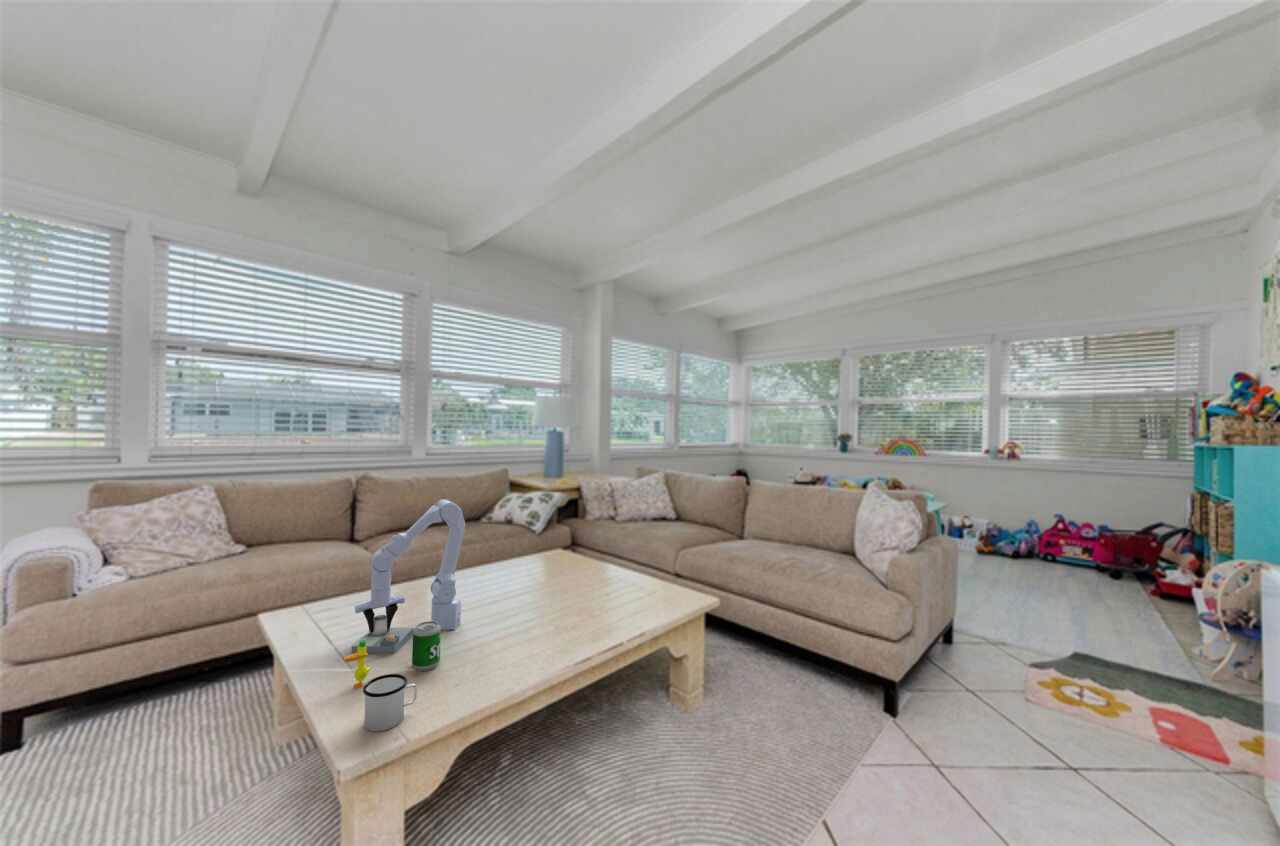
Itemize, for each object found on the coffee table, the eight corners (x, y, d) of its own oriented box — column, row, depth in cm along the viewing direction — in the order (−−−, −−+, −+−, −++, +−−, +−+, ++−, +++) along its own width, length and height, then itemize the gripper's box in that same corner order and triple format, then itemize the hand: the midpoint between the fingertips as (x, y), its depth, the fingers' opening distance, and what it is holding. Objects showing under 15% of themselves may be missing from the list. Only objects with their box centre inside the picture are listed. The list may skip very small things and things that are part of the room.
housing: (413, 634, 163) (413, 622, 163) (395, 654, 149) (395, 641, 149) (373, 634, 162) (373, 622, 162) (351, 654, 148) (351, 641, 148)
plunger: (396, 641, 152) (396, 634, 152) (392, 644, 150) (392, 638, 150) (387, 641, 152) (387, 634, 152) (383, 644, 150) (383, 638, 150)
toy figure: (344, 693, 127) (346, 647, 127) (341, 687, 129) (343, 643, 130) (373, 684, 131) (374, 640, 132) (369, 679, 134) (371, 636, 134)
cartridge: (389, 635, 161) (389, 614, 161) (383, 641, 157) (383, 619, 157) (375, 635, 161) (376, 614, 161) (369, 641, 157) (369, 619, 157)
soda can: (422, 675, 137) (423, 632, 137) (406, 667, 141) (407, 626, 141) (445, 664, 144) (446, 624, 144) (429, 657, 148) (430, 618, 148)
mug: (368, 739, 109) (369, 699, 109) (356, 720, 116) (357, 682, 116) (422, 718, 117) (424, 680, 117) (408, 701, 124) (409, 666, 124)
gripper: (400, 580, 167) (399, 620, 167) (352, 589, 157) (351, 631, 157) (407, 585, 162) (406, 626, 162) (358, 595, 152) (357, 638, 152)
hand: (379, 629), depth 159 cm, fingers closed on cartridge, 4 cm apart
